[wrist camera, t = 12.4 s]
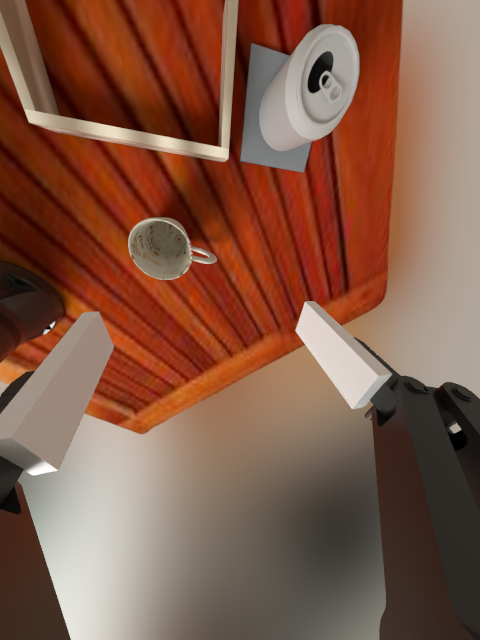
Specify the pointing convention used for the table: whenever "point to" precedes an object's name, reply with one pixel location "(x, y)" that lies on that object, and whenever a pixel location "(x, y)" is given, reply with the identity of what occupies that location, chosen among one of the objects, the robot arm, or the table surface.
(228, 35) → the u-shaped shelf bracket
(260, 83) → the mat
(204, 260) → the mug
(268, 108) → the can
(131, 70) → the table surface
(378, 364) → the robot arm
